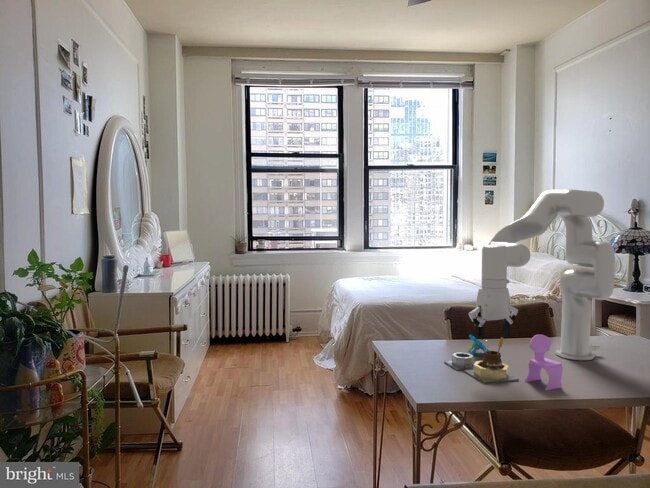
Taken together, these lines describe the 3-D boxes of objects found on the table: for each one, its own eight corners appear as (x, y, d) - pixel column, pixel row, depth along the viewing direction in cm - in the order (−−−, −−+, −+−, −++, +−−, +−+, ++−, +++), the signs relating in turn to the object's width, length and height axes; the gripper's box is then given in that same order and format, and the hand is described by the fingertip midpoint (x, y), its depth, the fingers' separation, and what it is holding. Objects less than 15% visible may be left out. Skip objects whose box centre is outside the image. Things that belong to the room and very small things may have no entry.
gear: (496, 354, 184) (476, 334, 184) (484, 366, 184) (464, 346, 184) (486, 350, 195) (467, 331, 195) (475, 361, 195) (456, 342, 195)
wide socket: (495, 368, 173) (496, 358, 173) (518, 380, 161) (519, 369, 161) (464, 371, 170) (464, 361, 169) (485, 384, 158) (485, 372, 158)
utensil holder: (478, 371, 168) (480, 335, 167) (497, 370, 169) (498, 334, 168) (486, 377, 162) (487, 339, 162) (505, 376, 163) (507, 339, 162)
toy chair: (544, 391, 152) (546, 341, 151) (522, 382, 160) (524, 334, 159) (565, 387, 156) (567, 338, 155) (542, 378, 164) (544, 332, 163)
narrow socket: (467, 360, 182) (467, 350, 182) (481, 368, 173) (481, 358, 173) (444, 362, 179) (444, 352, 179) (457, 370, 171) (457, 360, 170)
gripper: (510, 280, 169) (509, 331, 171) (463, 283, 165) (462, 336, 166) (525, 284, 162) (524, 337, 164) (476, 287, 157) (475, 342, 159)
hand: (493, 336), depth 165 cm, fingers open, 9 cm apart
